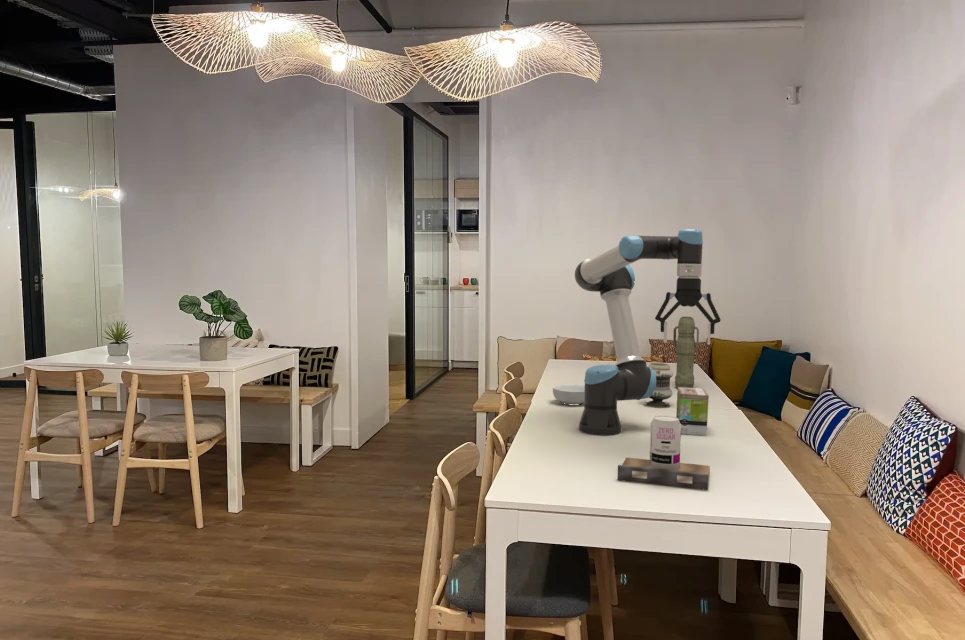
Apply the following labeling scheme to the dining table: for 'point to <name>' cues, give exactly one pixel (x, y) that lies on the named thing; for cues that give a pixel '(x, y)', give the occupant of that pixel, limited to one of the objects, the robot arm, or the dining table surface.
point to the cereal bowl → (569, 393)
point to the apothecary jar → (661, 385)
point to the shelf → (664, 474)
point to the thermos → (685, 352)
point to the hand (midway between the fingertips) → (686, 343)
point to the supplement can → (665, 443)
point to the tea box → (692, 410)
